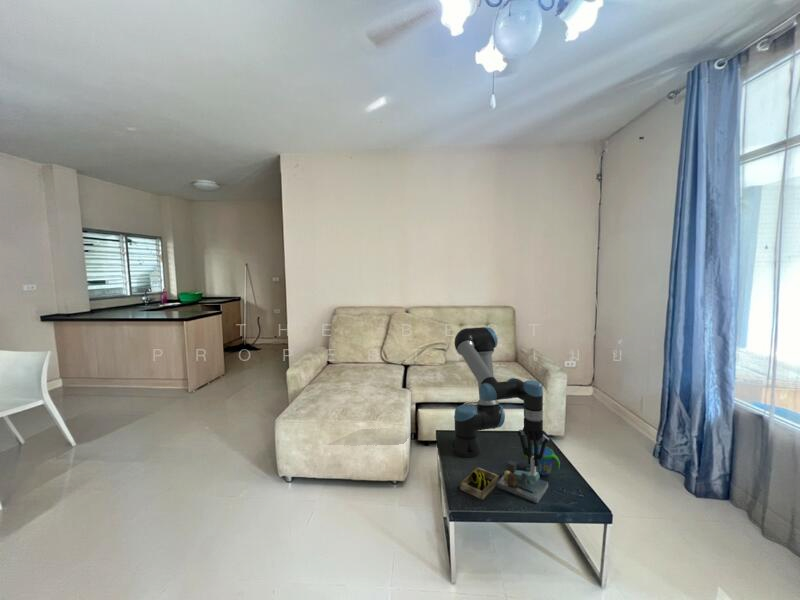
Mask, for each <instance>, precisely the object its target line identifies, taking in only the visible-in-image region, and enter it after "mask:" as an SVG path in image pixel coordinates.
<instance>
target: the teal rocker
mask: <svg viewBox="0 0 800 600" xmlns="http://www.w3.org/2000/svg"><path fill="white" fill-rule="evenodd" d="M522 473H525V474H526V480H527V481H536V482H537V480H538V479H541V477H540V476H541V475H540V474H539V472H536V473H535V474H531V473H530V472H529V471H526V470H519V469H518V470H516V471H515V472H514V474H517V479H519V480H522Z"/></svg>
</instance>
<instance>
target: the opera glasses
mask: <svg viewBox="0 0 800 600" xmlns="http://www.w3.org/2000/svg"><path fill="white" fill-rule="evenodd" d="M470 474H472V478H471V480H472V481H471V482H472V483H473V484H477V489H478V490H481V491H483V490H484V489H485V487H486V486H487V485H490V484H489V483H490V481H489V480H486V478H485V477H484V474H483V473H479V472H476V471H474V470H472V471H471V473H470Z"/></svg>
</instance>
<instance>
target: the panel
mask: <svg viewBox="0 0 800 600" xmlns="http://www.w3.org/2000/svg"><path fill="white" fill-rule="evenodd" d="M525 471H529V472H530V467H526V468H525ZM496 487H497V488H499V489H501V490H504V491H506V492H509V493H511V494H514V495H516V496H519V497H521V498H523V499H525V500H529V501H530V502H533V503H536V504H538V503H539V501H540V500H541V498H542V497H543V496H544V495H545V492H546V491H547V490H548V488H549V482H548V481H546V480H543V479H541V478H539V479H538V480H537V482H536V481H527V480H526V474H525V473H522V480H519V479H517V485H516V486H515V487H513V486H511V485H508V480H506V479H505V478H504V474H503V475H502V476H501V478H499V481H498V482H497V485H496Z"/></svg>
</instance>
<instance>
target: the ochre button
mask: <svg viewBox="0 0 800 600" xmlns="http://www.w3.org/2000/svg"><path fill="white" fill-rule="evenodd" d="M509 473H510V471H508V470H504V472H503V475H504V478H505V479H506V480H508V474H509Z"/></svg>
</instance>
